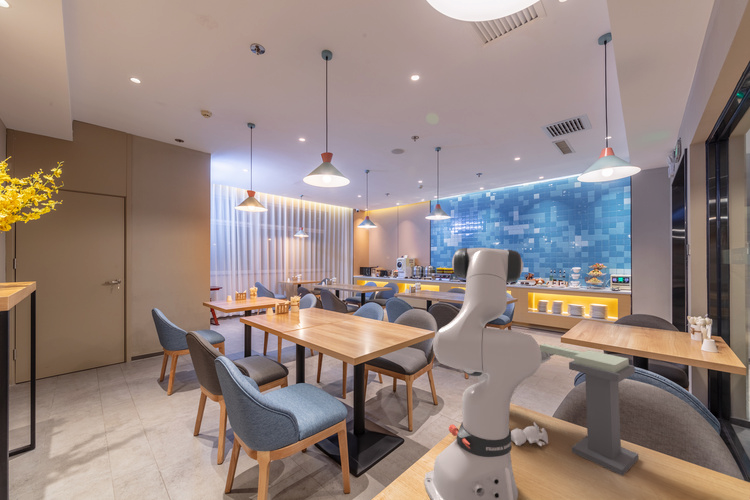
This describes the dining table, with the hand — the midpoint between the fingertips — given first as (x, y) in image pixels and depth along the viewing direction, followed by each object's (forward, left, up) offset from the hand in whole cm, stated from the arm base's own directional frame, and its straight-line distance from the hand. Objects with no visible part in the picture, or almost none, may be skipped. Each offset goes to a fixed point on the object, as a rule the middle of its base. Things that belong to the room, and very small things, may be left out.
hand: (547, 354), depth 101 cm
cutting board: (+3, -9, +1) cm, 9 cm away
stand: (+5, -14, -25) cm, 29 cm away
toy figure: (-11, -3, -26) cm, 28 cm away
